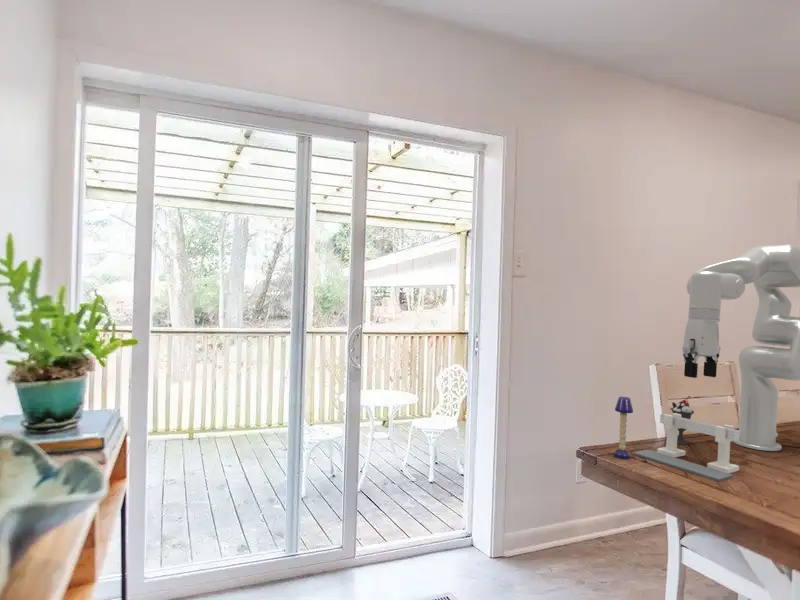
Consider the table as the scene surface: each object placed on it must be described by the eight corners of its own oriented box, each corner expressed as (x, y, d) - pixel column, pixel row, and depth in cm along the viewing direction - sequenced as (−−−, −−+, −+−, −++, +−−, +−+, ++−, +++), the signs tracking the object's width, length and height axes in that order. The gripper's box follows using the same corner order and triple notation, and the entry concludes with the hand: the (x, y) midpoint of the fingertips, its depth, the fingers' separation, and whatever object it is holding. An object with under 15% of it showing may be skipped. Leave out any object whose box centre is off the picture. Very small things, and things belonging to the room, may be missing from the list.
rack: (668, 450, 149) (670, 411, 148) (738, 470, 132) (740, 427, 132) (656, 452, 145) (658, 413, 145) (727, 473, 129) (729, 429, 129)
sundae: (696, 446, 154) (698, 397, 154) (672, 443, 156) (674, 396, 156) (688, 440, 161) (690, 394, 161) (665, 438, 162) (668, 392, 162)
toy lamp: (609, 453, 143) (612, 395, 143) (625, 453, 143) (627, 395, 143) (618, 458, 138) (621, 398, 138) (634, 459, 138) (637, 399, 138)
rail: (664, 422, 148) (665, 413, 148) (739, 439, 131) (739, 430, 131) (660, 422, 147) (660, 414, 147) (734, 441, 130) (734, 431, 130)
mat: (647, 451, 146) (647, 449, 146) (733, 477, 127) (733, 474, 127) (633, 454, 143) (633, 452, 143) (719, 481, 123) (719, 479, 123)
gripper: (706, 316, 147) (703, 374, 146) (673, 313, 138) (669, 375, 138) (734, 317, 140) (730, 378, 140) (700, 315, 131) (696, 379, 131)
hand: (700, 376), depth 139 cm, fingers open, 9 cm apart
